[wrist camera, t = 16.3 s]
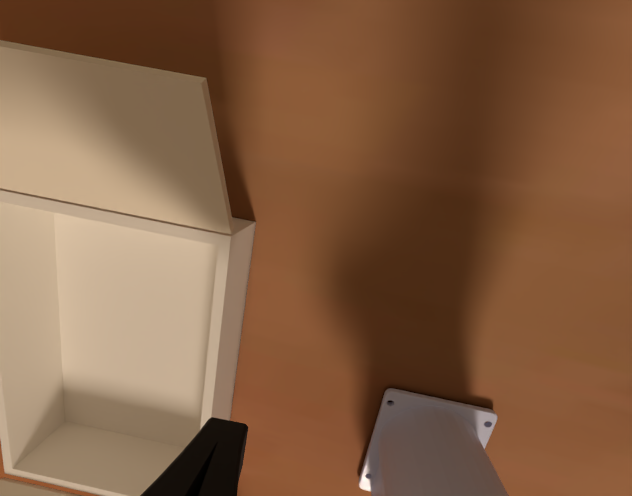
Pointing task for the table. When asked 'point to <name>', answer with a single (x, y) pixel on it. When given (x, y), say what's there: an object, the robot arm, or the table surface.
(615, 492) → the table surface
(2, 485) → the carton flap
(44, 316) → the carton
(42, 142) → the carton flap
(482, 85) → the table surface
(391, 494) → the robot arm
